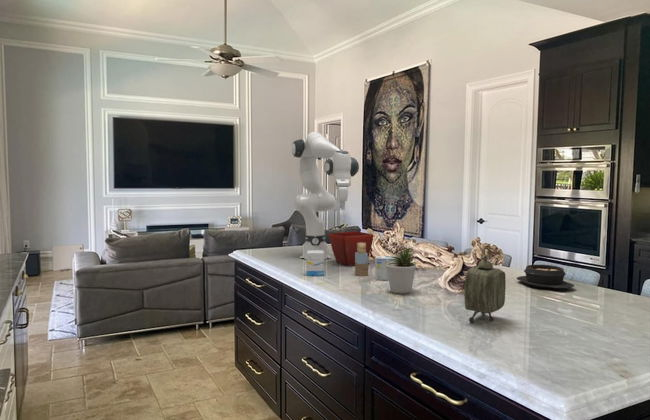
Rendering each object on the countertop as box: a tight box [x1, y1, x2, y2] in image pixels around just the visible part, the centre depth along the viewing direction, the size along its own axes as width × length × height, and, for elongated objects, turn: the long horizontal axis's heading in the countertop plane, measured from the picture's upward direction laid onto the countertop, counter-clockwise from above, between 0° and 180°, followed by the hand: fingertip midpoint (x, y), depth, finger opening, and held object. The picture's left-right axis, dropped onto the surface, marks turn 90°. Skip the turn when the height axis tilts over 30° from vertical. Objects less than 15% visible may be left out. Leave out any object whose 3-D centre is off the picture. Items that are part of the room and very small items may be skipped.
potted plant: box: [386, 244, 419, 295], centre depth 203 cm, size 13×14×20 cm
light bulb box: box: [374, 255, 398, 281], centre depth 228 cm, size 11×7×11 cm, turn 84°
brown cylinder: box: [357, 243, 366, 254], centre depth 237 cm, size 4×4×5 cm
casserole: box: [516, 264, 575, 290], centre depth 212 cm, size 25×19×8 cm
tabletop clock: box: [463, 247, 507, 323], centre depth 162 cm, size 14×9×25 cm, turn 141°
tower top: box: [355, 252, 369, 265], centre depth 238 cm, size 5×5×5 cm
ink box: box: [306, 250, 325, 277], centre depth 239 cm, size 8×8×12 cm
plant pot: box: [328, 231, 374, 267], centre depth 268 cm, size 19×19×17 cm
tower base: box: [354, 263, 369, 277], centre depth 238 cm, size 6×6×6 cm
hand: (342, 209), depth 246 cm, fingers open, 8 cm apart
